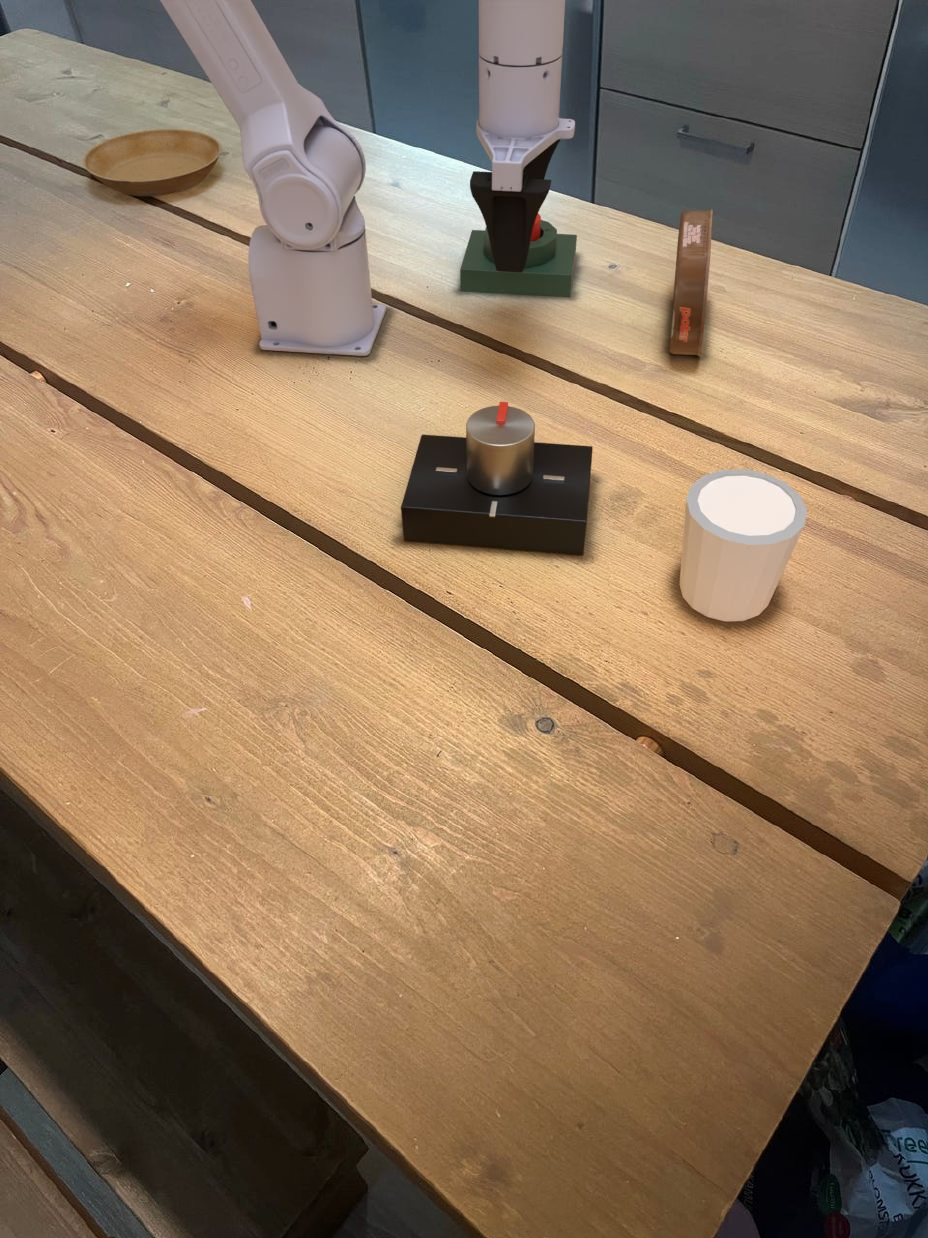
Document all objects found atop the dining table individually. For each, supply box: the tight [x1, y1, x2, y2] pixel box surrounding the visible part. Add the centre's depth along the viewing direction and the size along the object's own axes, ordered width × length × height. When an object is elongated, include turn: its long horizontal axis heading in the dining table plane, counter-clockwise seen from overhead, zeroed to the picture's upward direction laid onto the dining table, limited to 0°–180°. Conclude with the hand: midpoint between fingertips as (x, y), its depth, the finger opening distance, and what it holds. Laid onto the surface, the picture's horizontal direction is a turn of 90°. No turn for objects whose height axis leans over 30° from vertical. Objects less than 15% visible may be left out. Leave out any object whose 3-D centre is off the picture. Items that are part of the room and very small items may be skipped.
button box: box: [459, 219, 578, 298], centre depth 88 cm, size 10×8×4 cm
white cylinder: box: [679, 468, 808, 622], centre depth 58 cm, size 7×7×7 cm
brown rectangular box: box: [668, 209, 714, 357], centre depth 79 cm, size 15×3×8 cm, turn 168°
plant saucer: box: [82, 128, 222, 197], centre depth 105 cm, size 15×15×3 cm
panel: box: [400, 434, 594, 556], centre depth 65 cm, size 12×9×3 cm
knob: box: [465, 401, 536, 495], centre depth 62 cm, size 4×4×4 cm
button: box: [531, 213, 542, 242], centre depth 86 cm, size 4×4×2 cm
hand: (515, 246), depth 75 cm, fingers open, 7 cm apart
